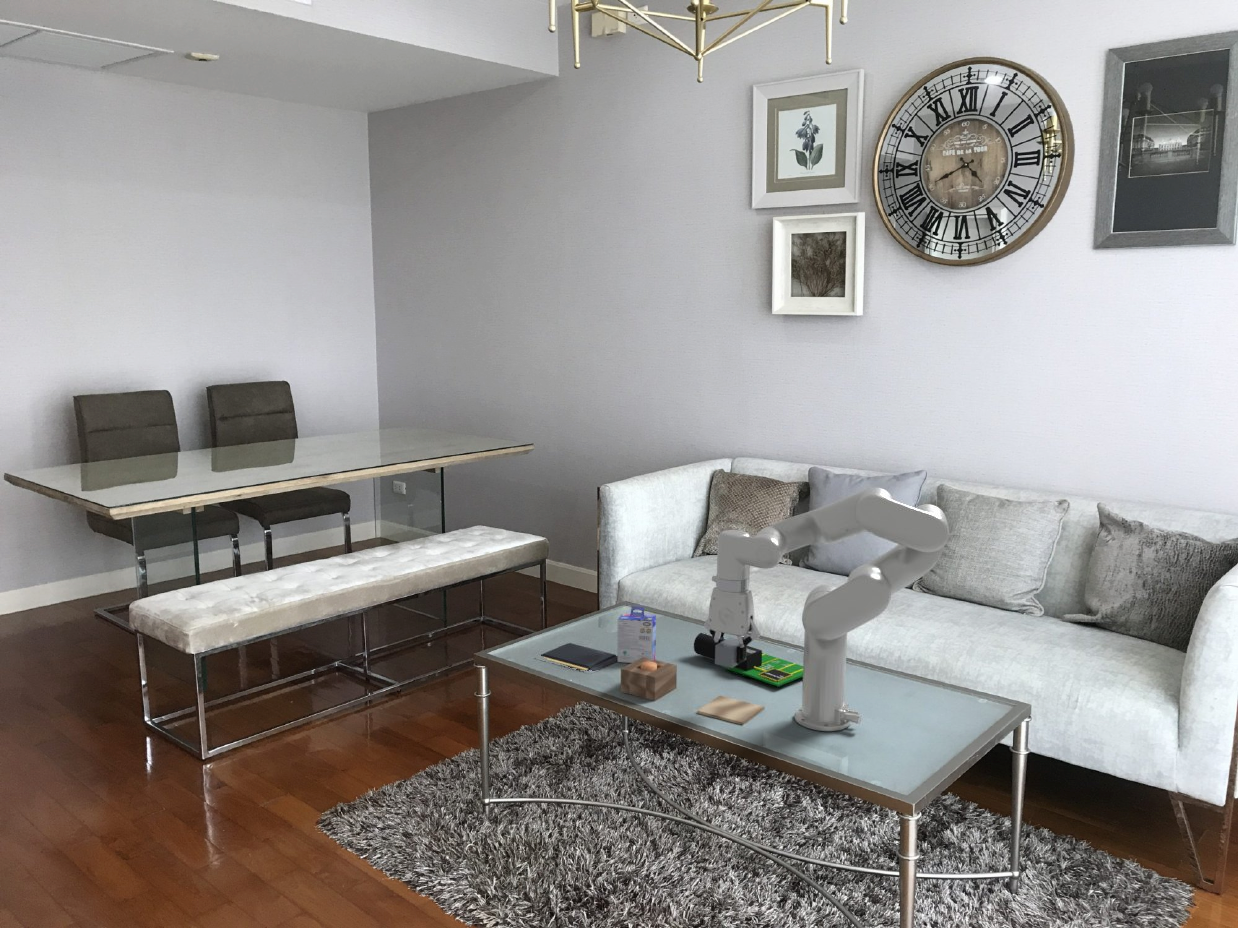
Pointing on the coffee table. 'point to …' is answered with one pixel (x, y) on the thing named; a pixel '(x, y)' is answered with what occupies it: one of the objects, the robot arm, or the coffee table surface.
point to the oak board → (731, 710)
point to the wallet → (580, 657)
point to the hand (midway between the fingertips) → (730, 658)
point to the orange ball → (648, 666)
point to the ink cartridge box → (636, 636)
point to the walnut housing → (649, 679)
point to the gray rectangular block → (727, 652)
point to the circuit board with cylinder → (753, 663)
